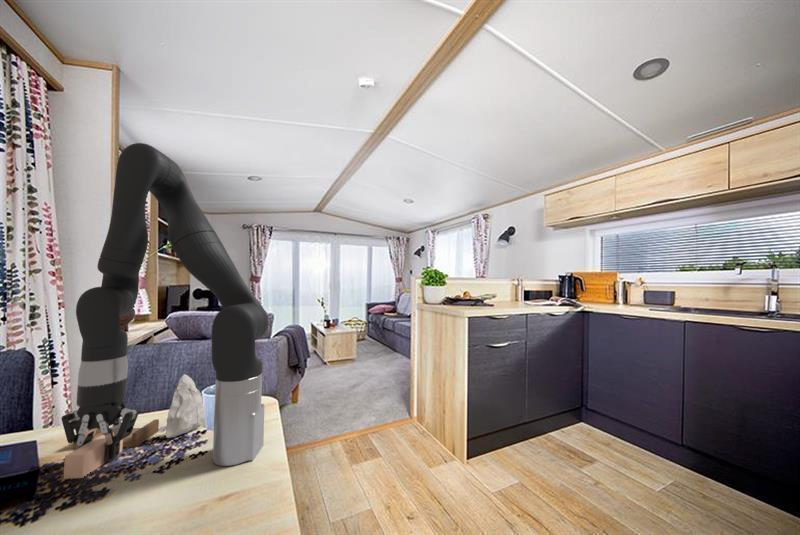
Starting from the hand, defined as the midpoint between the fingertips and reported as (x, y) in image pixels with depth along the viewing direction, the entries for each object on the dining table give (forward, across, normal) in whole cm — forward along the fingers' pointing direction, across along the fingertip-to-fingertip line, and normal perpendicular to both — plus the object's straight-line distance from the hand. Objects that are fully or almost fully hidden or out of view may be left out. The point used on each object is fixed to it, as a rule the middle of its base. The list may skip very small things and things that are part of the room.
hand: (98, 460), depth 62 cm
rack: (0, +4, -9) cm, 10 cm away
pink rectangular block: (0, 0, +1) cm, 1 cm away
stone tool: (0, -11, -10) cm, 15 cm away
